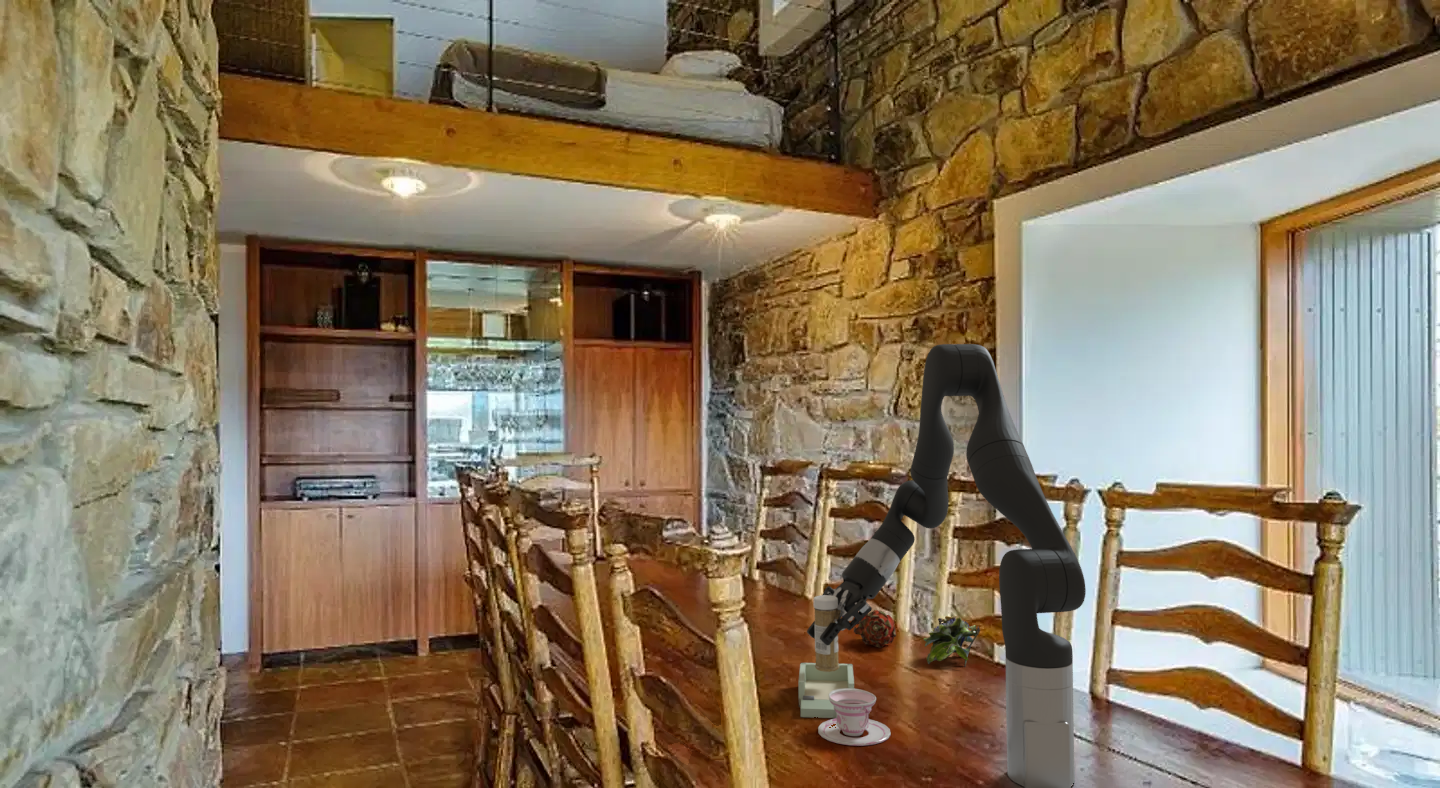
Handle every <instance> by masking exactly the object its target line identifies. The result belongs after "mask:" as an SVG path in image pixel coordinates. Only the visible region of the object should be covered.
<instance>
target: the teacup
mask: <svg viewBox="0 0 1440 788" xmlns="http://www.w3.org/2000/svg"><path fill="white" fill-rule="evenodd" d="M829 700H830V702H831V703H832V704H833V705H834V709H835V711H836V714H837V718H830V719H828V720H826V721H823V722H822V723H820V724H819V726H818V727H817V729H818V732H817V733H818V734H819V735H820V736H821V738H823V739H825V740H827V741H828V742H832V743H836V744H840V745H846V746H855V747H857V746H858V747H859V746H861V747H862V746H873V745H876V744H880V743H883V742H885V741H887V740H889V738H890V737H891V736H892V735H891V729H890V728H889V727H888V726H887V725H886V724H884V723H882V722H880V721H877V720H874V719H870V718H869V717H870V715H869V714H870V712H872V711H873V709H872V707H873V706H874V705H875V704H876V701H877V697H876V695H875V694H873V693H872V692H869V691H867V690H864V689H860V688H854V689H852V688H843V689H837V690H833V691H831V692H830V693H829ZM833 724H836V725H835V726H833V727H832V726H831V725H833ZM829 727H831V728H829ZM835 727H836V728H835ZM841 731H842V733H843V734H844V735H843V734H842V733H840V732H841ZM864 731H866V732H867V733H868V734H867V735H865V736H863V737H860V736H862V735H863V734H864ZM845 735H846V736H845Z"/></svg>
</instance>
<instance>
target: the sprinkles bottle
mask: <svg viewBox="0 0 1440 788" xmlns="http://www.w3.org/2000/svg"><path fill="white" fill-rule="evenodd" d="M837 607H838V598H837V597H835V596H831V595H823V594H821V595H816V596H814V597H813V608H814V609H813V610H814V621H815V624H814V625H815V639H814V650H815V663H816V665H815V668H816V669H817V670H819V671H824V672H831V671H836V670H838V669H839V664H840V663H839V634H838V635H837V636H836V637H835V639H834V640H833V641H832V642H831V644H830V645H826V644H824V643H823V642H822V641H821V640H820V636H821V635H822V633H823V632H824V631H825V630H826V628H827V627H828V626H829V624H830V623H833V619H834V617H835V616H836V614H837V611H836V609H837Z"/></svg>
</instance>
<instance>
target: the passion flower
mask: <svg viewBox="0 0 1440 788" xmlns="http://www.w3.org/2000/svg"><path fill="white" fill-rule="evenodd" d="M937 621H938V625H936V627H933V630H934V631H933V630H931V631H930V632H928V635H929V637H925V638H923V641H924V642H925V644H924V647H927V646H929V644H932V645H931V647H930V651H929V653H928V654H927V656H926V661H927V664H928V665H930V664H931V663H933V661H938V662H941V661H944V660H945V659H947V658H948V657H950V656H951V655H952V654H955V653H956V654H957V655H958V657H960V658H962V659H964V667H963V668H966V666H967V661H969V658H968V656H969V653H970V651H971V647H972V646H973V644H974V642H975V640H976V638H977V637H978V636H979V634H980V632H981V629H980V626H979V625H978V626H977V625H975V624H974V625H971V626H970V625H969V623H968V622H967V620H965V621H964V619H963V620H962V617H960V616H958V617H954V616H948V615H947V616H945V617H944V618H941V617H938V619H937ZM972 636H973V638H972ZM964 642H965V643H966V642H967V643H970V644H969V645H968V646H967V647H966V648H963V644H964Z"/></svg>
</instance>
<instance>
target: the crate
mask: <svg viewBox="0 0 1440 788" xmlns="http://www.w3.org/2000/svg"><path fill="white" fill-rule="evenodd" d="M838 664H839V669H838V670H836V671H831V672H824V671H819V670H817V669H816V668H815V665H816V662H800V664H799V675H798V707H799V708H800V718H814V717H816V718H817V717H818V718H820V719H835V718H837V714H836V711H835V709H834V705H833V704H832V703H831V702H830V700H829V693H830V692H831V691H833V690H837V689H843V688H852V689H855V677H854V665H853V664H852V663H838Z"/></svg>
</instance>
